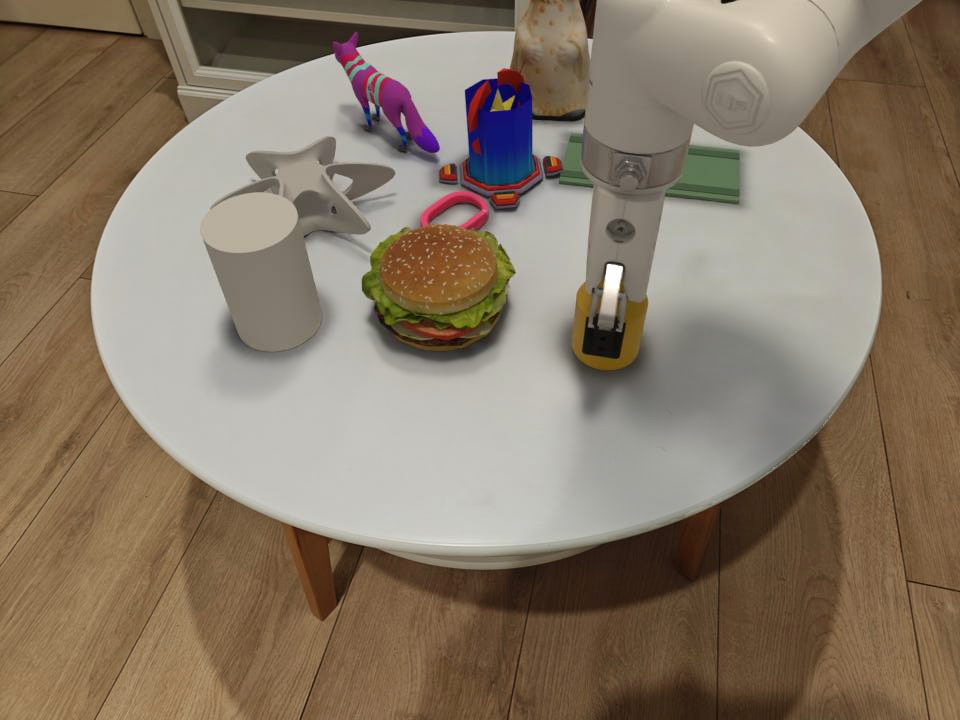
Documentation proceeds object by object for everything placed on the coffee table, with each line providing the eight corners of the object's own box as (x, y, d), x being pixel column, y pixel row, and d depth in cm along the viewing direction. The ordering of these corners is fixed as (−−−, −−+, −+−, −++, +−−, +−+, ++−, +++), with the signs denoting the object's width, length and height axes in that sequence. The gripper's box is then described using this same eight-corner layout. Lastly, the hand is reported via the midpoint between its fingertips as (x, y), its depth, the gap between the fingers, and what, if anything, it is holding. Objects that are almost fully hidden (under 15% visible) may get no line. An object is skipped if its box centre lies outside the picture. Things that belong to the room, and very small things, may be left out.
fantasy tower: (507, 214, 83) (504, 112, 74) (429, 177, 89) (417, 78, 80) (572, 165, 89) (576, 66, 80) (495, 133, 94) (491, 37, 86)
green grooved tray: (738, 153, 91) (739, 149, 90) (738, 203, 84) (739, 200, 84) (571, 135, 94) (571, 131, 93) (558, 183, 87) (559, 179, 87)
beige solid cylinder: (290, 279, 78) (262, 181, 68) (339, 319, 74) (316, 220, 65) (221, 320, 74) (182, 222, 65) (268, 365, 70) (234, 266, 61)
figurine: (501, 118, 97) (501, -50, 82) (507, 76, 103) (508, -86, 88) (594, 122, 96) (612, -47, 81) (594, 79, 102) (610, -84, 87)
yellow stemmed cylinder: (641, 326, 72) (653, 266, 67) (636, 375, 68) (648, 315, 63) (576, 317, 73) (582, 256, 67) (567, 365, 69) (573, 305, 64)
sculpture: (309, 297, 76) (296, 248, 71) (190, 217, 85) (172, 168, 80) (430, 212, 84) (426, 163, 80) (311, 147, 93) (301, 100, 88)
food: (533, 276, 77) (535, 212, 71) (483, 376, 69) (482, 313, 63) (409, 246, 81) (401, 183, 75) (347, 338, 72) (333, 275, 66)
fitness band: (449, 251, 80) (448, 240, 79) (409, 228, 83) (408, 217, 81) (499, 214, 84) (499, 203, 83) (460, 193, 86) (460, 182, 85)
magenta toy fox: (355, 102, 100) (343, 24, 92) (451, 156, 91) (446, 75, 84) (333, 114, 98) (318, 35, 90) (428, 170, 90) (421, 88, 82)
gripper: (681, 229, 49) (641, 395, 62) (692, 91, 60) (656, 256, 73) (564, 214, 50) (549, 380, 63) (596, 81, 61) (578, 245, 74)
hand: (607, 313), depth 68 cm, fingers open, 9 cm apart
